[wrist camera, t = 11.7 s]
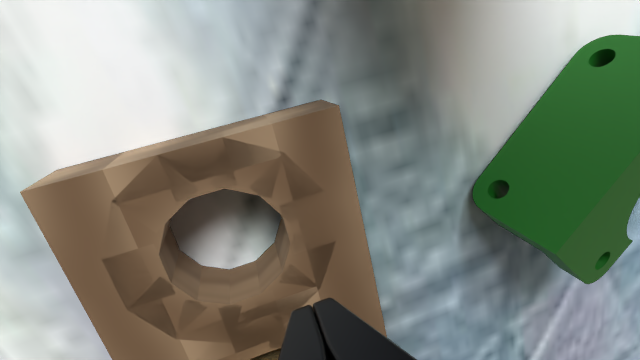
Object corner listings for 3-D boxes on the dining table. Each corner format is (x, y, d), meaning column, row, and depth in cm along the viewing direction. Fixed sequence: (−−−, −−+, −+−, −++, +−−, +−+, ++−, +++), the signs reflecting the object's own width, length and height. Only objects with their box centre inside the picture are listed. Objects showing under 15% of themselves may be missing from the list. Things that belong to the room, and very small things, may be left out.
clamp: (482, 189, 27) (559, 304, 20) (441, 149, 23) (518, 273, 17) (660, 75, 22) (835, 179, 15) (641, 3, 18) (857, 99, 12)
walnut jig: (321, 99, 18) (338, 105, 15) (381, 370, 23) (402, 411, 21) (56, 169, 16) (20, 191, 13) (194, 444, 22) (190, 500, 19)
